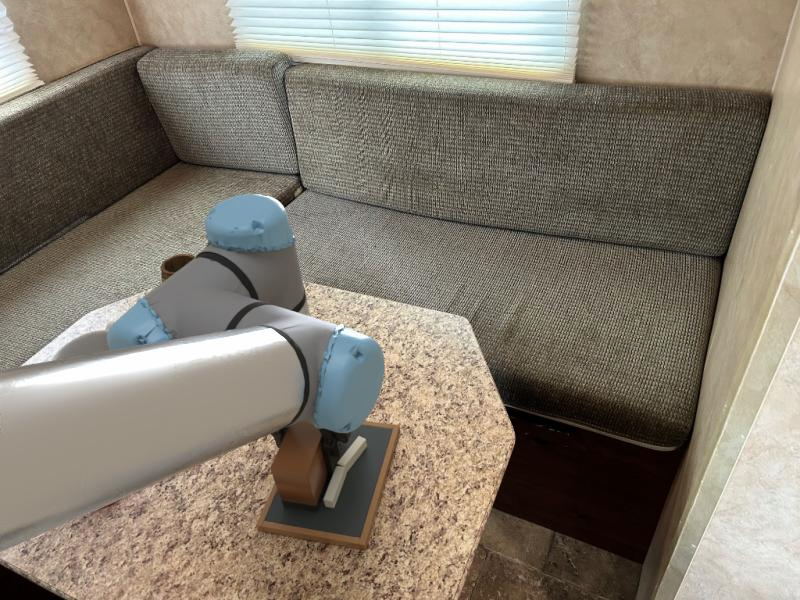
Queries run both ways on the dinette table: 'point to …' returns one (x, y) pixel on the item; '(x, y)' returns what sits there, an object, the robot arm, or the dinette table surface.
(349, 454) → the white chalk stick
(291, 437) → the eraser
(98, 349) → the teacup
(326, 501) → the white rectangular bar
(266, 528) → the chalkboard
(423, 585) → the dinette table surface
